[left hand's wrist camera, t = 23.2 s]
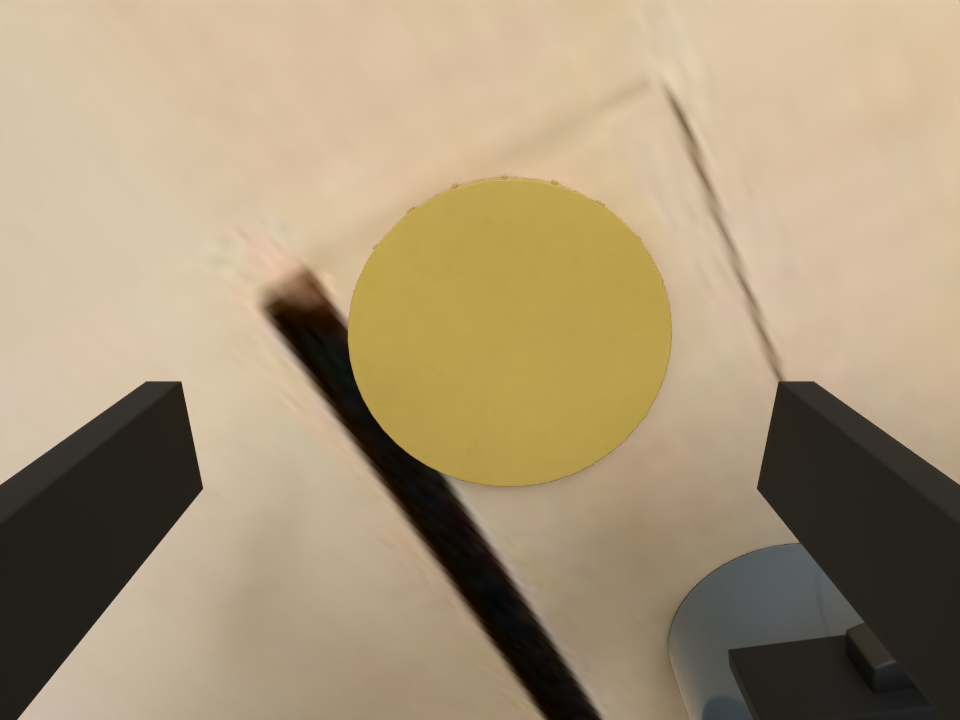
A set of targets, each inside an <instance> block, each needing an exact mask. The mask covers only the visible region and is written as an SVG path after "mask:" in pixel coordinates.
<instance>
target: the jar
mask: <svg viewBox="0 0 960 720" xmlns="http://www.w3.org/2000/svg"><path fill="white" fill-rule="evenodd" d="M861 623H865V622H864V621H863V620H862V619H861V617H860V616H859V615H858V614H857V612H856V611H855V610H854V609H853V607H852V606H851V605H850V604H849V602H848V601H847V600H846V599H845V597H844V596H843V595H842V594H841V592H840V591H839V590H838V589H837V588H836V586H835V585H834V584H833V583H832V581H831V580H830V579H829V578H828V576H827V575H826V574H825V573H824V571H823V570H822V569H821V568H820V566H819V565H818V564H817V563H816V561H815V560H814V559H813V558H812V556H811V555H810V554H809V553H808V551H807V550H806V549H805V548H804V547H803V545H802V544H801V543H799V544H786V545H780V546H773V547H769V548H765V549H761V550H758V551H754V552H752V553H749V554H746V555H744V556H741V557H739V558H737V559H735V560H733V561H731V562H729V563H727V564H725V565H723V566H722V567H720V568H718V569H717V570H715V571H714V572H712V573H711V574H710V575H708V576H707V577H706V578H705V579H704V580H702V581H701V582H700V583H699V584H698V585H697V586H696V587H695V588H694V589H693V590H692V591H691V592H690V593H689V595H688V596H687V597H686V599H685V600H684V601H683V603H682V604H681V606H680V608H679V610H678V611H677V613H676V615H675V618H674V620H673V623H672V626H671V630H670V635H669V648H668V651H669V658H670V663H671V666H672V669H673V672H674V675H675V678H676V681H677V684H678V687H679V690H680V692H681V695H682V698H683V701H684V704H685V707H686V710H687V713H688V716H689V719H690V720H753V718H752V716H751V713H750V711H749V709H748V707H747V705H746V702H745V700H744V698H743V696H742V693H741V691H740V689H739V687H738V685H737V682H736V680H735V678H734V676H733V673H732V671H731V669H730V667H729V656H728V650H729V649H737V648H745V647H753V646H760V645H768V644H776V643H784V642H792V641H799V640H807V639H815V638H823V637H831V636H838V635H846V630H847V629H849V628H852V627H854V626H856V625H859V624H861Z"/></svg>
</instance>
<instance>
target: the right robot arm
mask: <svg viewBox="0 0 960 720" xmlns="http://www.w3.org/2000/svg"><path fill="white" fill-rule="evenodd" d="M728 656H729V667H730V669H731V671H732V673H733V676H734V678H735V680H736V682H737V685H738V687H739V689H740V691H741V693H742V696H743V698H744V700H745V702H746V705H747V707H748V709H749V711H750V713H751V716H752V718H753V720H943V719H942V718H941V717H940V715H939V714H938V713H937V712H936V711H935V709H934V708H933V707H932V706H931V704H930V703H929V702H928V701H927V699H926V698H925V697H924V696H923V694H922V693H921V692H920V691H919V689H918V688H917V687H916V686H915V684H914V683H913V682H912V681H911V679H910V678H909V677H908V676H907V674H906V673H905V672H904V671H903V670H902V668H901V667H900V666H899V665H898V663H897V662H896V661H895V660H894V658H893V657H892V656H891V655H890V653H889V652H888V651H887V650H886V648H885V647H884V646H883V645H882V643H881V642H880V641H879V640H878V638H877V637H876V636H875V635H874V633H873V632H872V631H871V630H870V629H869V627H868V626H867V625H866V624H865V623H861V624H859V625H856V626H854V627H852V628H849V629H847V630H846V635H838V636H831V637H823V638H815V639H807V640H799V641H792V642H784V643H776V644H768V645H760V646H753V647H745V648H737V649H729V650H728Z"/></svg>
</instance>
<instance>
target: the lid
mask: <svg viewBox="0 0 960 720" xmlns="http://www.w3.org/2000/svg"><path fill="white" fill-rule="evenodd" d="M604 206H605V204H603V203H602V202H600V201H596V202H595V201H593V200H591V199H590V198H588V197H586V196H584V195H582V194H580V193H578V192H576V191H573V190H571V189H569V188H566V187H564V186H561V185H559V184H558V182H557V181H554V180H552V182H547V181H543V180H539V179H531V178H522V177H506V174H503V175H502V177H495V178H489V179H483V180H477V181H472V182H469V183H466V184H463V185H459V186H457V184H454V185H452V186H451V189H449V190H447V191H444V192H442V193H440V194H438V195H436V196H434V197H432V198H431V199H429V200H428V201H426V202H425V203H423V204H422V205H420V206H418V207H417V208H414V207H413V208H411V209H410V210H408V211H407V213H408V214H407V215H406V216H405V217H404V218H403V219H401V220H400V221H399V222H398V223H397V224H396V225H395V226H393V227H392V229H391V230H390V231H389V232H388V233H387V234H386V235H385V237H384V238H383V239H382V240H381V241H380V242H379V243H378V244H377V245H376V246H374V248H373V249H374V251H373V253H372V254H371V256H370V257H369V259H368V260H367V262H366V264H365V266H364V268H363V270H362V273H361V275H360V277H359V279H358V281H357V285H356V288H355V289H354V294H353V298H352V301H351V308H350V314H349V320H348V345H349V354H350V361H351V365H352V369H353V373H354V377H355V380H356V383H357V385H358V388H359V390H360V393H361V395H362V398H363V399H364V401H365V403H366V405H367V407H368V408H369V410H370V412H371V414H372V415H373V417H374V418H375V419H376V421H377V422H378V423H379V425H380V426H381V427H382V429H383V430H384V431H385V432H386V433H387V434H388V435H389V436H390V437H391V438H392V439H393V440H394V441H395V443H396V444H398V445H399V446H400V447H401V448H403V449H404V450H405V451H406V452H407V453H409V454H410V455H411V456H413V457H414V458H416V459H417V460H419V461H421V462H422V463H424V464H425V465H427V466H429V467H431V468H433V469H435V470H437V471H439V472H441V473H443V474H446V475H449V476H452V477H454V478H457V479H460V480H463V481H468V482H472V483H477V484H482V485H491V486H526V485H535V484H541V483H545V482H549V481H553V480H557V479H560V478H563V477H566V476H569V475H571V474H574V473H576V472H578V471H580V470H582V469H584V468H586V467H588V466H590V465H592V464H594V463H596V462H597V461H599V460H600V459H602V458H603V457H605V456H606V455H608V454H609V453H610V452H612V451H613V450H614V449H615V448H616V447H618V446H619V445H620V444H621V443H622V442H623V441H625V439H626V438H627V437H628V436H629V435H630V434H631V433H632V432H633V431H634V430H635V429H636V428H637V426H638V425H639V424H640V422H641V421H642V419H643V418H644V417H645V415H646V414H647V413H648V411H649V409H650V408H651V406H652V404H653V402H654V400H655V398H656V396H657V395H658V392H659V390H660V387H661V385H662V382H663V379H664V377H665V374H666V369H667V365H668V361H669V357H670V348H671V337H672V330H671V313H670V308H669V302H668V297H667V293H666V290H665V287H664V284H663V283H664V282H663V280H662V278H661V275H660V273H659V271H658V269H657V267H656V265H655V263H654V261H653V259H652V257H651V255H650V254H649V252H648V251H647V250H646V248H645V247H644V245H643V244H642V243H641V239H640V237H638V236H636V235H635V234H634V233H633V232H632V231H631V230H630V229H629V228H628V227H627V226H626V224H625V223H624V222H623V221H622V220H620V219H619V218H618V217H616V216H615V215H614V214H613V213H611V212H610V211H609V210H608V209H606V208H605V207H604Z"/></svg>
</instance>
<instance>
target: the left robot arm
mask: <svg viewBox="0 0 960 720" xmlns="http://www.w3.org/2000/svg"><path fill="white" fill-rule="evenodd" d="M202 489H203V486H202V481H201V476H200V471H199V466H198V461H197V456H196V452H195V447H194V442H193V437H192V432H191V427H190V422H189V417H188V412H187V407H186V403H185V398H184V393H183V388H182V383H181V382H145V383H144V384H142V385H141V386H139V387H138V388H136V389H135V390H134V391H132V392H131V393H129V394H128V395H127V396H125V397H124V398H122V399H121V400H120V401H118V402H117V403H115V404H114V405H113V406H111V407H110V408H108V409H107V410H105V411H104V412H103V413H101V414H100V415H98V416H97V417H96V418H94V419H93V420H91V421H90V422H89V423H87V424H86V425H84V426H83V427H82V428H80V429H79V430H77V431H76V432H74V433H73V434H72V435H70V436H69V437H67V438H66V439H65V440H63V441H62V442H60V443H59V444H58V445H56V446H55V447H53V448H52V449H51V450H49V451H48V452H46V453H45V454H43V455H42V456H41V457H39V458H38V459H36V460H35V461H34V462H32V463H31V464H29V465H28V466H27V467H25V468H24V469H22V470H21V471H20V472H18V473H17V474H15V475H14V476H12V477H11V478H10V479H8V480H7V481H5V482H4V483H3V484H1V485H0V720H17V719H18V718H19V717H20V715H21V714H22V713H23V712H24V710H25V709H26V708H27V707H28V706H29V704H30V703H31V702H32V701H33V699H34V698H35V697H36V696H37V694H38V693H39V692H40V691H41V689H42V688H43V687H44V686H45V684H46V683H47V682H48V681H49V679H50V678H51V677H52V676H53V674H54V673H55V672H56V671H57V670H58V668H59V667H60V666H61V665H62V663H63V662H64V661H65V660H66V658H67V657H68V656H69V655H70V653H71V652H72V651H73V650H74V648H75V647H76V646H77V645H78V643H79V642H80V641H81V640H82V638H83V637H84V636H85V635H86V633H87V632H88V631H89V630H90V629H91V627H92V626H93V625H94V624H95V622H96V621H97V620H98V619H99V617H100V616H101V615H102V614H103V612H104V611H105V610H106V609H107V607H108V606H109V605H110V604H111V602H112V601H113V600H114V599H115V597H116V596H117V595H118V594H119V592H120V591H121V590H122V589H123V588H124V586H125V585H126V584H127V583H128V581H129V580H130V579H131V578H132V576H133V575H134V574H135V573H136V571H137V570H138V569H139V568H140V566H141V565H142V564H143V563H144V561H145V560H146V559H147V558H148V556H149V555H150V554H151V553H152V551H153V550H154V549H155V548H156V547H157V545H158V544H159V543H160V542H161V540H162V539H163V538H164V537H165V535H166V534H167V533H168V532H169V530H170V529H171V528H172V527H173V525H174V524H175V523H176V522H177V520H178V519H179V518H180V517H181V515H182V514H183V513H184V512H185V510H186V509H187V508H188V507H189V506H190V504H191V503H192V502H193V501H194V499H195V498H196V497H197V496H198V494H199V493H200V492H201V491H202ZM757 489H758V491H759V492H760V493H761V494H762V496H763V497H764V498H765V499H766V501H767V502H768V503H769V504H770V506H771V507H772V508H773V509H774V511H775V512H776V513H777V514H778V515H779V517H780V518H781V519H782V520H783V522H784V523H785V524H786V525H787V527H788V528H789V529H790V530H791V532H792V533H793V534H794V535H795V537H796V538H797V539H798V540H799V542H800V543H801V544H802V545H803V547H804V548H805V549H806V550H807V551H808V553H809V554H810V555H811V556H812V558H813V559H814V560H815V561H816V563H817V564H818V565H819V566H820V568H821V569H822V570H823V571H824V573H825V574H826V575H827V576H828V578H829V579H830V580H831V581H832V583H833V584H834V585H835V586H836V588H837V589H838V590H839V591H840V592H841V594H842V595H843V596H844V597H845V599H846V600H847V601H848V602H849V604H850V605H851V606H852V607H853V609H854V610H855V611H856V612H857V614H858V615H859V616H860V617H861V619H862V620H863V621H864V622H865V624H866V625H867V626H868V627H869V629H870V630H871V631H872V632H873V633H874V635H875V636H876V637H877V638H878V640H879V641H880V642H881V643H882V645H883V646H884V647H885V648H886V650H887V651H888V652H889V653H890V655H891V656H892V657H893V658H894V660H895V661H896V662H897V663H898V665H899V666H900V667H901V668H902V670H903V671H904V672H905V673H906V674H907V676H908V677H909V678H910V679H911V681H912V682H913V683H914V684H915V686H916V687H917V688H918V689H919V691H920V692H921V693H922V694H923V696H924V697H925V698H926V699H927V701H928V702H929V703H930V704H931V706H932V707H933V708H934V709H935V711H936V712H937V713H938V714H939V715H940V717H941V718H942V719H943V720H960V485H959V484H957V483H956V482H955V481H953V480H952V479H950V478H949V477H948V476H946V475H945V474H943V473H942V472H940V471H939V470H938V469H936V468H935V467H933V466H932V465H931V464H929V463H928V462H926V461H925V460H924V459H922V458H921V457H919V456H918V455H917V454H915V453H914V452H912V451H911V450H909V449H908V448H907V447H905V446H904V445H902V444H901V443H900V442H898V441H897V440H895V439H894V438H893V437H891V436H890V435H888V434H887V433H886V432H884V431H883V430H881V429H880V428H878V427H877V426H876V425H874V424H873V423H871V422H870V421H869V420H867V419H866V418H864V417H863V416H862V415H860V414H859V413H857V412H856V411H855V410H853V409H852V408H850V407H849V406H847V405H846V404H845V403H843V402H842V401H840V400H839V399H838V398H836V397H835V396H833V395H832V394H831V393H829V392H828V391H826V390H825V389H824V388H822V387H821V386H819V385H818V384H816V383H815V382H779V383H778V388H777V393H776V398H775V403H774V407H773V412H772V417H771V422H770V427H769V432H768V437H767V442H766V447H765V452H764V456H763V461H762V466H761V471H760V476H759V481H758V486H757Z"/></svg>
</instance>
